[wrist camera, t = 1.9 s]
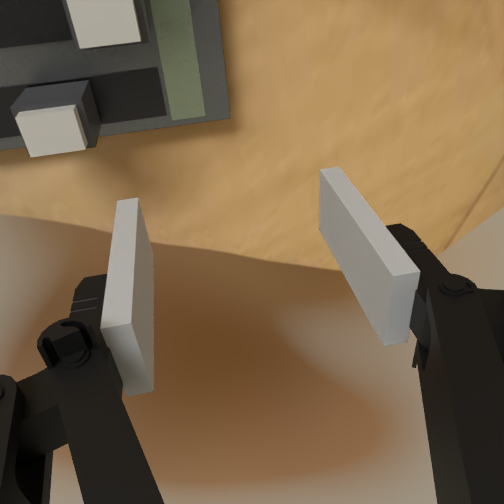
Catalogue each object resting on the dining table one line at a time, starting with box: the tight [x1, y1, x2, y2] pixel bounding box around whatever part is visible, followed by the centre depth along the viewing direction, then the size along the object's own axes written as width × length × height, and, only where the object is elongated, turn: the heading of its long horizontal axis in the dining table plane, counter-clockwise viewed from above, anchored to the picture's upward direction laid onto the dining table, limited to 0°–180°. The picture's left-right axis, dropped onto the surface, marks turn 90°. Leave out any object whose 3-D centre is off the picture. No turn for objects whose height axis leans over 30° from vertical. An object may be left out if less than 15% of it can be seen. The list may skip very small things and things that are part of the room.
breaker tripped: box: [10, 80, 102, 157], centre depth 28 cm, size 4×3×5 cm
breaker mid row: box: [62, 0, 150, 51], centre depth 25 cm, size 4×3×5 cm
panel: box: [0, 0, 231, 150], centre depth 28 cm, size 20×16×2 cm
